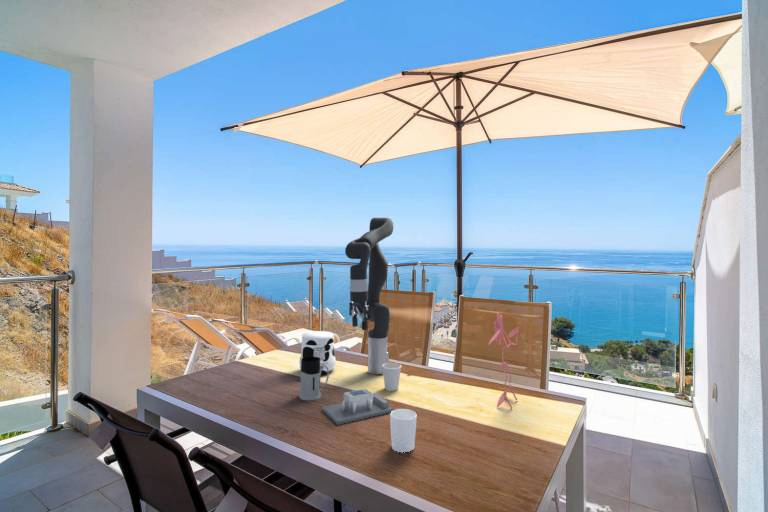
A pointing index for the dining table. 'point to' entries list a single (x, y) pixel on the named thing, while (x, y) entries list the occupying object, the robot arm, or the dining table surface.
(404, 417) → the white cup
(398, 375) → the dixie cup
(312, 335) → the milk container
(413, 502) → the dining table surface
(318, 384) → the white and black mug
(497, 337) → the figurine
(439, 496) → the dining table surface
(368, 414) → the grey tapered peg board
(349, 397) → the block
